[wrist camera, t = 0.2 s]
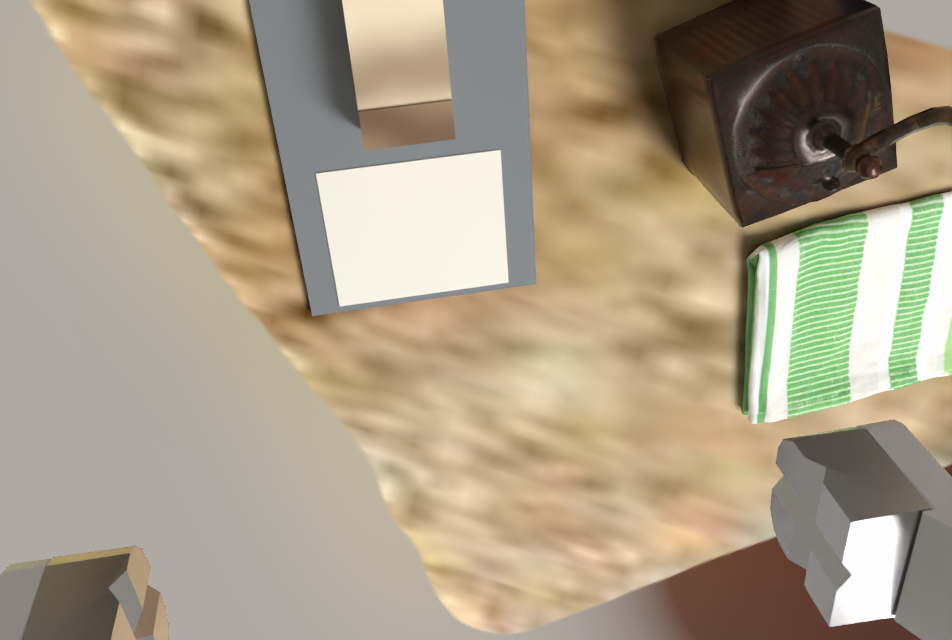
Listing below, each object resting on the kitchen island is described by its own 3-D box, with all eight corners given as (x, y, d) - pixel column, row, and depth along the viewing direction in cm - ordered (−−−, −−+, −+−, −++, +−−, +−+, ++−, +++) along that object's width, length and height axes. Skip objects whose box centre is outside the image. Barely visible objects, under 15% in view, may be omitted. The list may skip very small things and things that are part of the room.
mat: (243, -30, 51) (243, -29, 51) (520, -60, 53) (522, -58, 52) (312, 312, 64) (312, 316, 63) (534, 280, 65) (536, 284, 65)
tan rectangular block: (339, -20, 52) (340, -6, 49) (433, -31, 53) (441, -17, 50) (361, 129, 57) (364, 150, 54) (447, 118, 57) (455, 139, 54)
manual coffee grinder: (686, 183, 63) (805, 317, 48) (649, 34, 57) (771, 134, 42) (899, 97, 62) (1089, 207, 47) (883, -64, 56) (1095, 3, 41)
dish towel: (1002, 358, 77) (1023, 377, 75) (738, 416, 76) (751, 436, 74) (1043, 166, 68) (1068, 180, 65) (741, 228, 66) (757, 245, 64)
